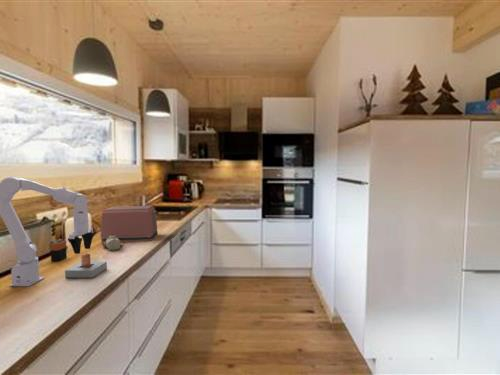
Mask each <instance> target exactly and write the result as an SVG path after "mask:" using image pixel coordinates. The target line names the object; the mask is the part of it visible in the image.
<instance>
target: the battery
mask: <svg viewBox="0 0 500 375" xmlns="http://www.w3.org/2000/svg"><path fill="white" fill-rule="evenodd" d="M49 245H50V246H49V248H50V251H49V252H50V260H51V262H60V261H62V260H65V259H66V258H67V241H66V240H63V239H62V238H60V239H57V240H55V241H53V242H52V243H50V244H49Z"/></svg>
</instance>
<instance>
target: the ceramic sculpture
mask: <svg viewBox="0 0 500 375" xmlns="http://www.w3.org/2000/svg"><path fill="white" fill-rule="evenodd" d="M122 243H123V242H122V241H119V239H118V238H117V237H116V236H115V235H114V234H112V235H111V236H109V237H108V238H107V240H106V242H105V243H102V242H101V245H102V247H104V248H107V250H109V251H117V250H119V249H120V247H121V246H122V245H121V244H122Z"/></svg>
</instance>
